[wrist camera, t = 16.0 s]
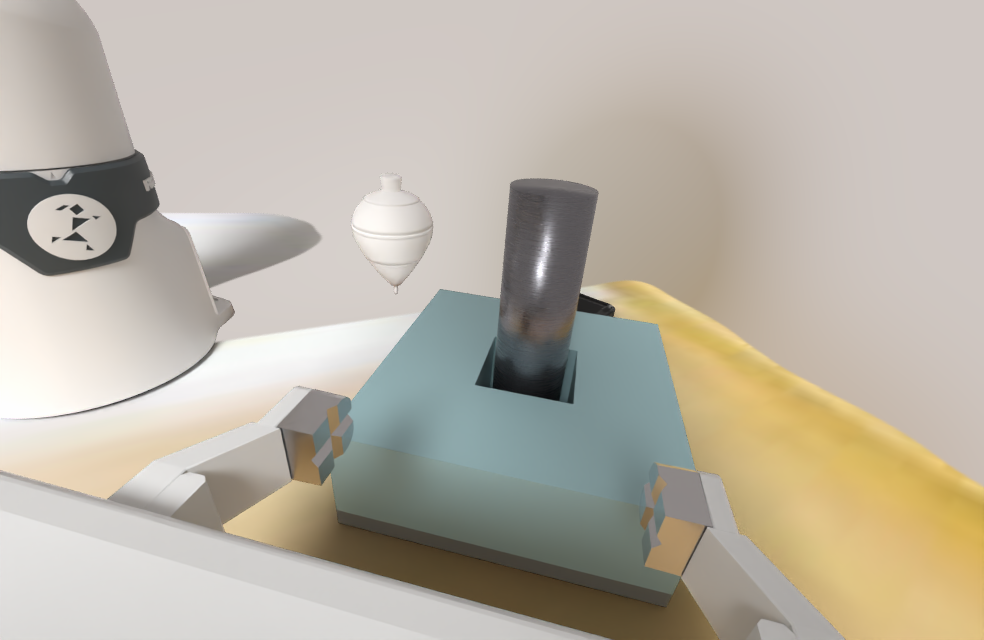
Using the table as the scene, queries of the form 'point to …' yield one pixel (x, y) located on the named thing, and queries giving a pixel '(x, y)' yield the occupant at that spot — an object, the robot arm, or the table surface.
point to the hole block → (516, 449)
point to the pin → (541, 283)
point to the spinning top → (392, 229)
